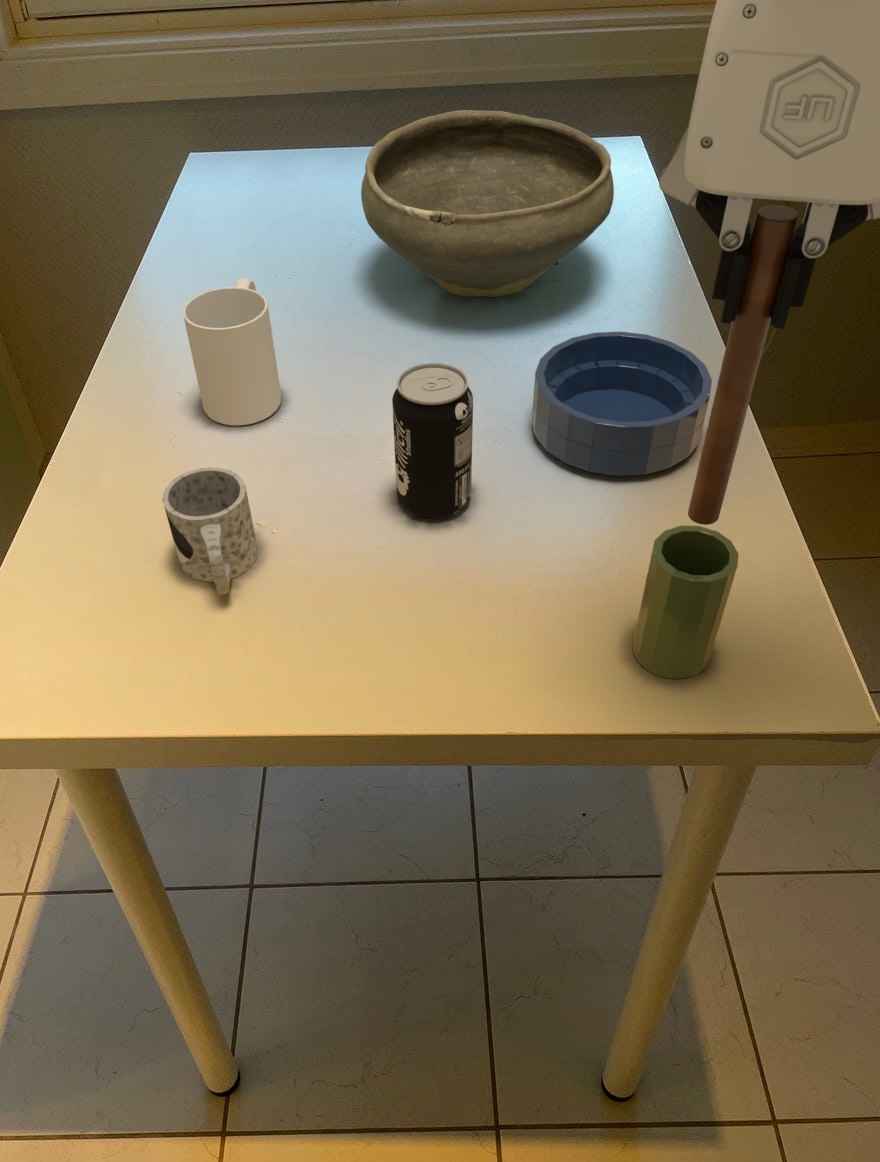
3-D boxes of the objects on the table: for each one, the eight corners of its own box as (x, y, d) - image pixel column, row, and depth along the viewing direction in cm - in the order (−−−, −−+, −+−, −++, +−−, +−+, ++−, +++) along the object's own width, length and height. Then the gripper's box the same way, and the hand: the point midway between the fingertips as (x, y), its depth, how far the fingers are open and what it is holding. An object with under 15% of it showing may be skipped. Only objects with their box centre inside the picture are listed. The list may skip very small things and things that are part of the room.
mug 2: (176, 536, 83) (159, 474, 79) (252, 523, 84) (240, 461, 79) (185, 616, 77) (167, 554, 72) (267, 601, 78) (255, 539, 73)
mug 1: (272, 429, 94) (256, 330, 86) (194, 425, 95) (171, 327, 87) (297, 362, 102) (285, 266, 94) (225, 359, 103) (207, 264, 95)
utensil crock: (711, 631, 74) (740, 532, 66) (705, 686, 70) (735, 588, 63) (637, 617, 75) (658, 519, 68) (627, 671, 71) (648, 573, 64)
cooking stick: (719, 508, 64) (798, 206, 50) (717, 527, 63) (798, 222, 48) (689, 503, 65) (758, 203, 50) (686, 522, 63) (756, 219, 49)
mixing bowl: (704, 397, 95) (717, 342, 90) (690, 494, 85) (704, 437, 80) (548, 377, 98) (553, 323, 94) (516, 468, 88) (520, 412, 84)
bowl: (404, 216, 125) (400, 98, 115) (618, 235, 119) (634, 113, 109) (335, 324, 107) (323, 196, 97) (583, 353, 101) (598, 220, 91)
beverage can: (385, 489, 87) (378, 372, 78) (450, 468, 89) (450, 352, 80) (416, 532, 83) (412, 413, 74) (484, 509, 84) (488, 391, 76)
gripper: (649, -81, 39) (599, 332, 53) (1085, -75, 36) (911, 366, 49) (667, -119, 44) (617, 269, 57) (1052, -116, 40) (902, 295, 54)
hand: (753, 311), depth 53 cm, fingers closed on cooking stick, 2 cm apart
